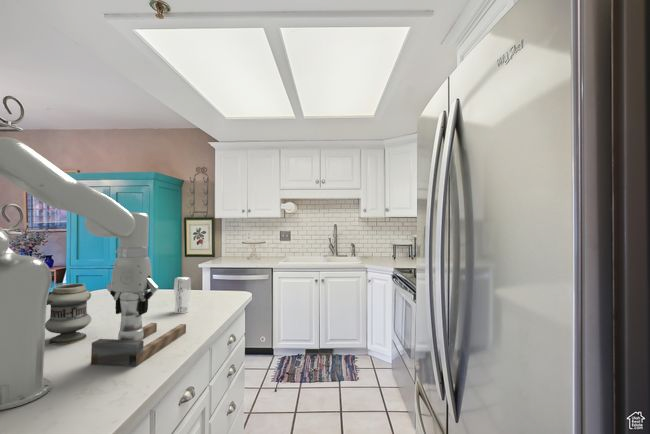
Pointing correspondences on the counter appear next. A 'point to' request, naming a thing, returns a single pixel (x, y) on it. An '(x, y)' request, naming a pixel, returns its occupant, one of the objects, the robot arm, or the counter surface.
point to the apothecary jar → (68, 313)
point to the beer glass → (182, 294)
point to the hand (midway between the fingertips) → (131, 312)
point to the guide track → (132, 347)
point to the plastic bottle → (130, 317)
